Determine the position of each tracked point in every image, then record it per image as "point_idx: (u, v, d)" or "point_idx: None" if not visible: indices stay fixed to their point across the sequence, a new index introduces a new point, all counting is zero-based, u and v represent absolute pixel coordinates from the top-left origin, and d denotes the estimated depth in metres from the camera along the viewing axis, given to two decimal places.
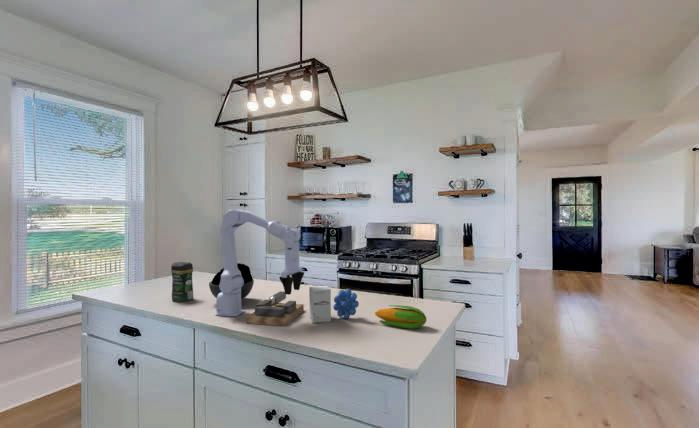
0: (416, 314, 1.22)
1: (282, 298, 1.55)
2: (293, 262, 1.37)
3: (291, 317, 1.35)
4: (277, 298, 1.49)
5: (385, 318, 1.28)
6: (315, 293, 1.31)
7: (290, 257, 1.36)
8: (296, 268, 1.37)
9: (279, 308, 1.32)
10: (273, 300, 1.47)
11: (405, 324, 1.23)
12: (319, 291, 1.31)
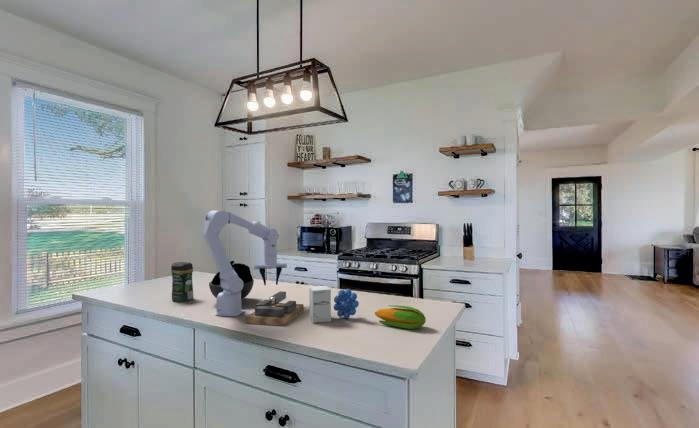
0: (415, 314, 1.21)
1: (282, 298, 1.55)
2: (265, 258, 1.54)
3: (291, 317, 1.35)
4: (277, 298, 1.49)
5: (384, 318, 1.28)
6: (315, 293, 1.31)
7: (274, 253, 1.55)
8: (267, 263, 1.54)
9: (279, 308, 1.32)
10: (273, 300, 1.47)
11: (404, 324, 1.22)
12: (319, 291, 1.31)
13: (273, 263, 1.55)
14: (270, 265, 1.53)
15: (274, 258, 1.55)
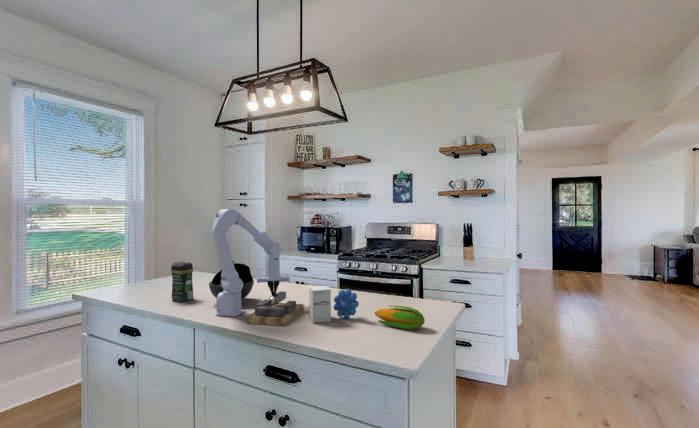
0: (413, 315, 1.21)
1: (282, 298, 1.55)
2: (268, 271, 1.54)
3: (291, 317, 1.35)
4: (277, 298, 1.49)
5: (384, 318, 1.28)
6: (315, 293, 1.31)
7: (276, 266, 1.54)
8: (270, 277, 1.54)
9: (279, 308, 1.32)
10: (273, 300, 1.47)
11: (402, 325, 1.22)
12: (319, 291, 1.31)
13: (276, 276, 1.54)
14: (273, 278, 1.53)
15: (277, 271, 1.55)
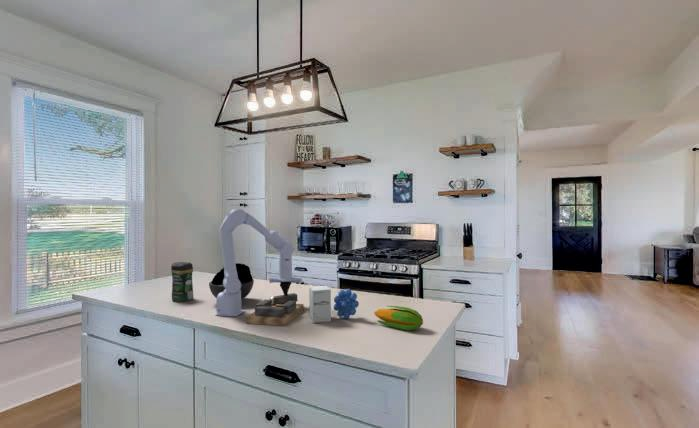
0: (412, 316, 1.20)
1: (288, 300, 1.51)
2: (279, 271, 1.53)
3: (291, 317, 1.35)
4: (277, 299, 1.48)
5: (383, 318, 1.28)
6: (315, 293, 1.31)
7: (288, 267, 1.52)
8: (281, 277, 1.52)
9: (279, 308, 1.32)
10: None
11: (401, 325, 1.21)
12: (319, 291, 1.31)
13: (287, 277, 1.52)
14: (283, 279, 1.51)
15: (288, 272, 1.52)
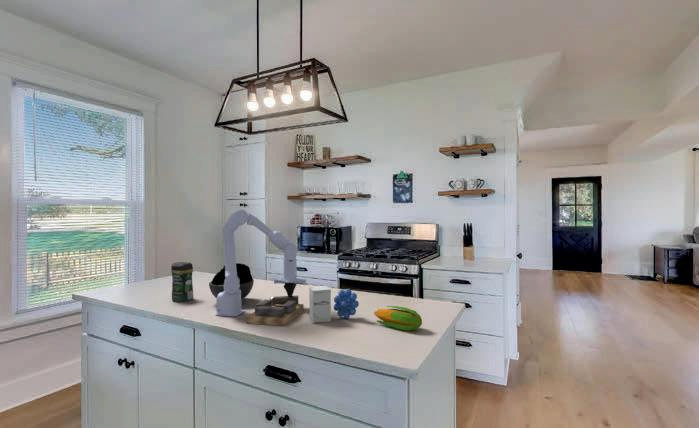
0: (410, 316, 1.20)
1: None
2: None
3: (291, 317, 1.35)
4: (276, 300, 1.47)
5: (382, 318, 1.28)
6: (315, 293, 1.31)
7: (291, 268, 1.49)
8: (285, 278, 1.50)
9: (279, 308, 1.32)
10: None
11: (400, 325, 1.21)
12: (319, 291, 1.31)
13: (290, 279, 1.49)
14: (287, 280, 1.49)
15: (292, 273, 1.50)
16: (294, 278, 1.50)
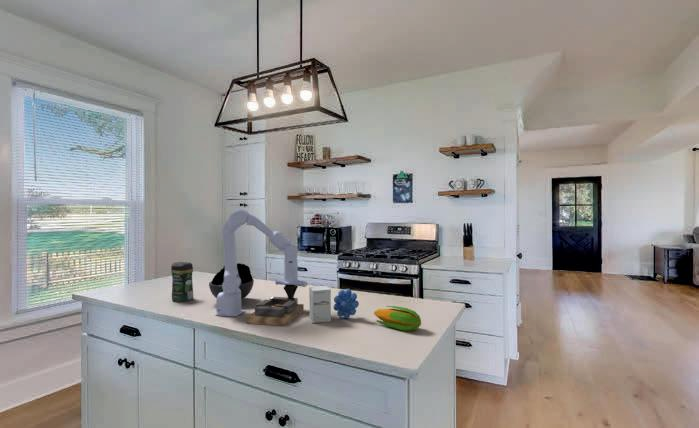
0: (409, 316, 1.19)
1: None
2: (284, 273, 1.48)
3: (291, 317, 1.35)
4: (274, 300, 1.46)
5: (382, 318, 1.28)
6: (315, 293, 1.31)
7: (291, 270, 1.46)
8: (285, 280, 1.47)
9: (279, 308, 1.32)
10: None
11: (399, 325, 1.21)
12: (319, 291, 1.31)
13: (290, 280, 1.46)
14: (286, 282, 1.46)
15: (292, 275, 1.46)
16: (294, 280, 1.47)
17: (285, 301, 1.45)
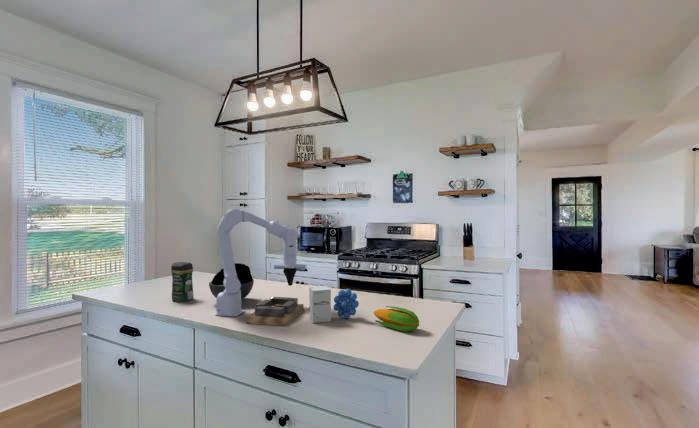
0: (407, 317, 1.19)
1: None
2: (284, 258, 1.53)
3: (291, 317, 1.35)
4: (274, 300, 1.46)
5: (381, 318, 1.28)
6: (315, 293, 1.31)
7: (292, 253, 1.52)
8: (285, 264, 1.52)
9: (279, 308, 1.32)
10: None
11: (396, 326, 1.21)
12: (319, 291, 1.31)
13: (291, 264, 1.52)
14: (287, 266, 1.51)
15: (292, 259, 1.52)
16: (294, 263, 1.53)
17: (285, 301, 1.45)
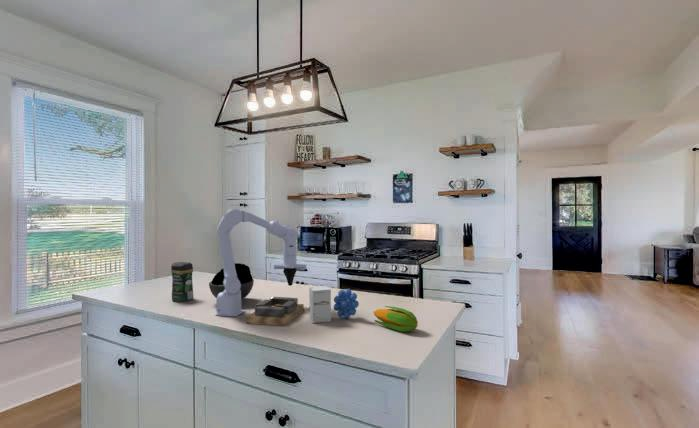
0: (405, 317, 1.19)
1: None
2: (284, 258, 1.53)
3: (291, 317, 1.35)
4: (274, 300, 1.46)
5: (380, 318, 1.28)
6: (315, 293, 1.31)
7: (292, 253, 1.52)
8: (285, 264, 1.52)
9: (279, 308, 1.32)
10: None
11: (395, 326, 1.20)
12: (319, 291, 1.31)
13: (291, 264, 1.52)
14: (287, 266, 1.51)
15: (292, 259, 1.52)
16: (294, 263, 1.53)
17: (285, 301, 1.45)
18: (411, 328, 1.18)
